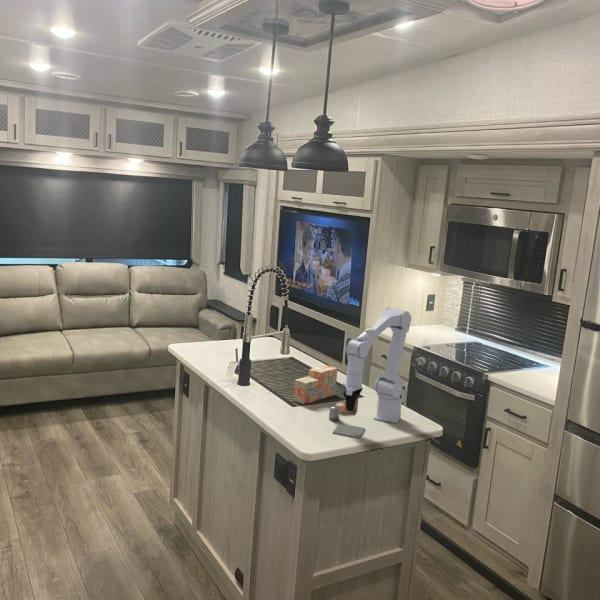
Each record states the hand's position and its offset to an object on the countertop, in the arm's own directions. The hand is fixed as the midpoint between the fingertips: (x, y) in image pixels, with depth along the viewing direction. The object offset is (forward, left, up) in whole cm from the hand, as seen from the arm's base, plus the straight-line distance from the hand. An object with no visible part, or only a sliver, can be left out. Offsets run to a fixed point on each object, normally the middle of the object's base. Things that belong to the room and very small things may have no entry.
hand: (351, 408), depth 220 cm
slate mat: (0, 0, -9) cm, 9 cm away
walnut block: (0, 0, -2) cm, 2 cm away
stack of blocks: (+22, -31, -9) cm, 39 cm away
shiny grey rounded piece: (+8, -9, -9) cm, 15 cm away
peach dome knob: (+7, -20, -9) cm, 23 cm away
